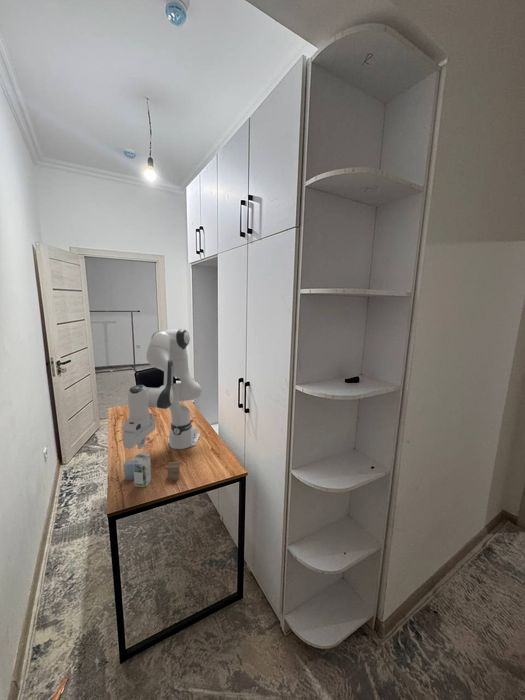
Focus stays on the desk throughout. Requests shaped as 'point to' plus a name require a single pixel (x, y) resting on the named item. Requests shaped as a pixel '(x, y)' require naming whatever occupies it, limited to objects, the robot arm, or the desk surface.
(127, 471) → the slate cylinder
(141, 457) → the syrup box
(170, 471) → the walnut block
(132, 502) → the desk surface
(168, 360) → the robot arm
